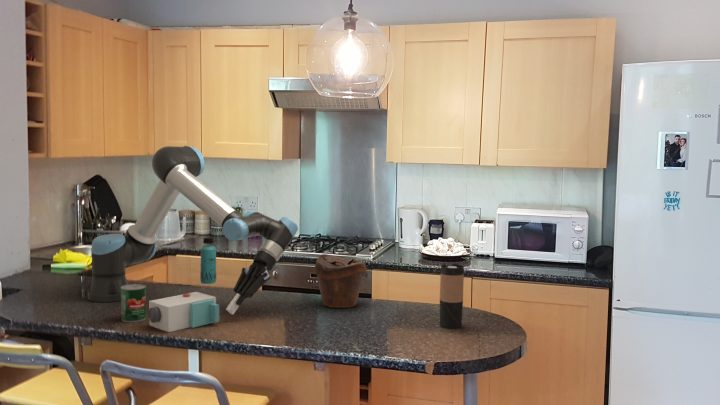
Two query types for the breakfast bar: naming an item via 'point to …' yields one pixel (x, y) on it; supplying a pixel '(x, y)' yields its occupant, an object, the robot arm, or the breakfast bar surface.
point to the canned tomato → (133, 303)
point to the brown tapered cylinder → (339, 280)
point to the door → (203, 313)
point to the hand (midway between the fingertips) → (229, 312)
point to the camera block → (174, 311)
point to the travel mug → (451, 295)
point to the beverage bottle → (208, 262)
